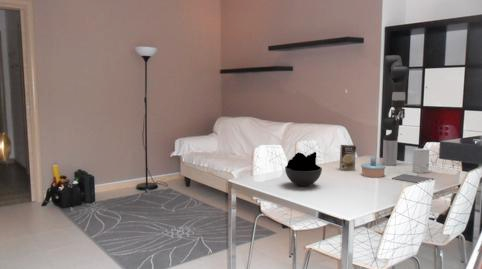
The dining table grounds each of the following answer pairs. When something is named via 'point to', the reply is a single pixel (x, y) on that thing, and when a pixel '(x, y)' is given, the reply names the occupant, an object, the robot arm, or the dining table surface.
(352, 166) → the coffee box
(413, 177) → the mat
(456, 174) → the dining table surface
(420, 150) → the skincare box
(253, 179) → the dining table surface
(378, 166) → the lid
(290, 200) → the dining table surface
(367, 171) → the bowl
